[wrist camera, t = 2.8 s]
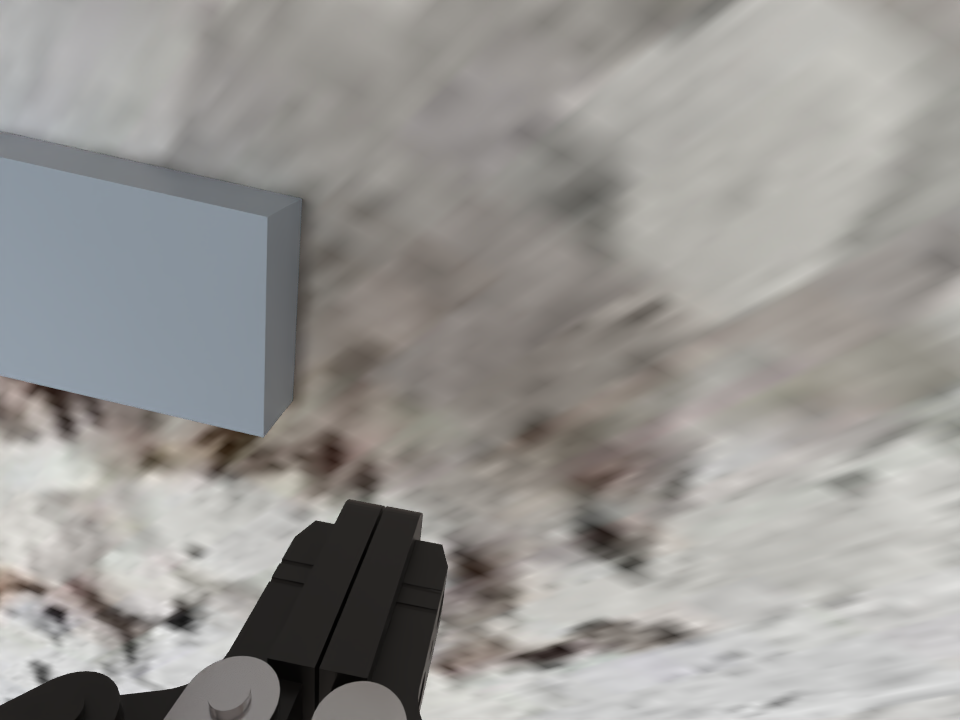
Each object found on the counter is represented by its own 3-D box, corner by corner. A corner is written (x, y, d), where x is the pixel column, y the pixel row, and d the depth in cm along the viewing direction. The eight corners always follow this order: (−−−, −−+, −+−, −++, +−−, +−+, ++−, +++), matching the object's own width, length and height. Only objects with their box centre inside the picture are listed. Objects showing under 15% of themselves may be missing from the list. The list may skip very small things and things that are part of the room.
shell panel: (-88, 108, 20) (-186, 115, 18) (307, 195, 20) (267, 217, 17) (-36, 317, 24) (-111, 349, 21) (297, 394, 24) (263, 437, 21)
